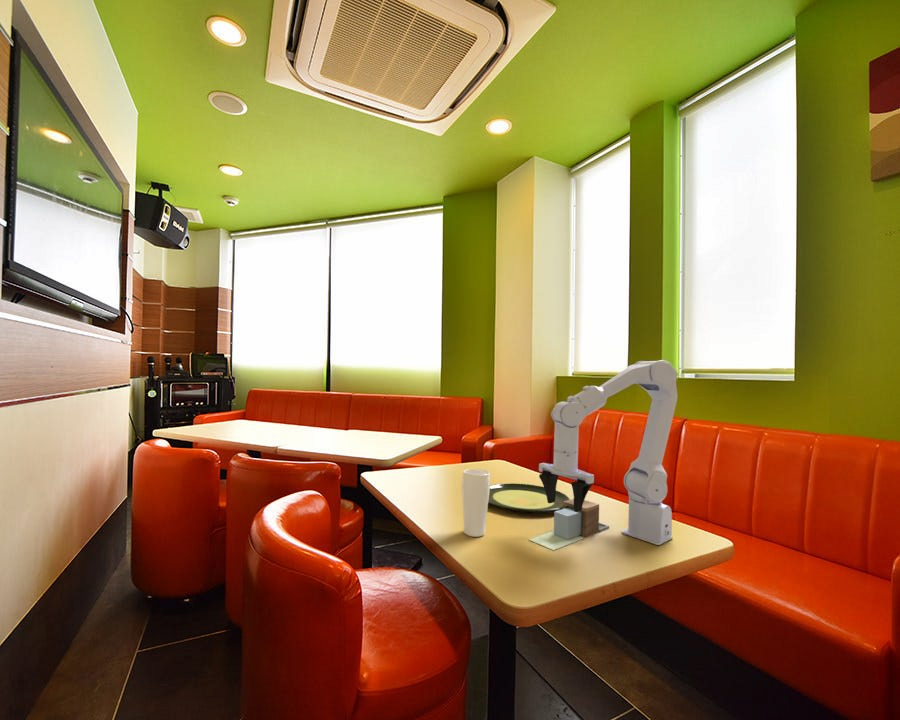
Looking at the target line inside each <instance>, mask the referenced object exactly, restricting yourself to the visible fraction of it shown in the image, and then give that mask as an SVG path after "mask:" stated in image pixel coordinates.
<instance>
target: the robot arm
mask: <svg viewBox="0 0 900 720" xmlns="http://www.w3.org/2000/svg"><path fill="white" fill-rule="evenodd" d="M678 375H679V373H678V371H677V369H676V368H675V367H674V366H673V364H672V363H671V362H670V361H668V360H665V359H660V360H649V361H646V360H640V361H636V362H635V363H634V364H631V365H628V366H627V367H626V368H625V369H624V370H622V371H620V372H619V373H617V374H616V375H614V376H613V377H612V378H610V379H608V380H607V381H606V382H604V383H602V384H601V385H599V386H597V385H585V386H583V387H582V390H581V391H580V392H579V393H577V394H574V395H569V396H568V397H567V400H566V401H560V402H557V403H556V404H555V405H554V407H553V409H552V411H551V412H550V416H551V418H552V420H553V421H554V439H553V440H554V441H553V463H546V462H542V463H539V464H538V471H539V472H541V473H540V474H539V479H540V481H541V484H542V487H544V488H545V492H546V496H547V501H548V503H553V502H555V497H556V491H557V483H558V480H559V476H560V477H564V478H568V479H571V480H574V481H572V482H571V484H570V485H571V489H572V493H573V494H572V495H573V499H574V512H579V511H581V510H582V506H583V502H584V500H585V499H586V497H587V494H588V493H589V491H590V489H591V487H592V486H593V484H594V482H595V475H594V474H592V473H589V472H586V471H584V470H581V469H578V468H579V467H578V465H579V463H578V461H579V435H580V434H579V431H580V430H579V429H580V428H579V427H580V425H582V423H583V421H584V419H585V418H586V417H587V416H589V415H591V414H592V413H594V412H596V411H598V410H599V409H601V408H602V407H604V406H606V404H607V399H608V398H609V397H612V396H614V395H615V394H617V393H619V392H621V391H623V390H624V389H627V388H628V387H630V386H632V385H634V384H637V385H638V386H640V387H641V389H643V390H645V391H646V392H647V394H648V395H649V397H650V398H651V404H650V408H649V412H648V416H647V421H646V425H645V429H644V432H643V433H644V434H643V437H642V442H641V446H640V448H639V449H640V450H639V452H638V453H639V454H638V457H637V458H636V459H635V460H633V461H632V462H631V463H630V466H629V469H628V470H627V471H626V473H625V475H624V476H623V486H624V487H625V489H626V490H627V491H628V492H627V495H628V521H627V522H628V525H627V526H628V527H627V528H625V529H623V530H621V531H620V532H621V534H624V535H627V536H629V537H633V538H635V539H638V540H642V541H645V542H648V543H651V544H653V545H657V546H661V545H662V544H665V543H666V542H668V541H669V540H672V539H673V536H672V530H673V529H672V528H673V527H672V525H673V523H672V522H673V521H672V520H673V513H672V507H671V506H669V505H667V504H664V503H663V500H665V498H666V497H667V494H668V484H667V478H668V474H667V472H666V470H665V469H664V466H663V460H664V456H665V452H666V448H667V445H668V440H669V435H670V432H671V427H672V423H673V418H674V414H675V410H676V407H677V402H678V397H679V396H678V389H677V379H678ZM575 480H576V481H575Z"/></svg>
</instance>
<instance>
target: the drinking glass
mask: <svg viewBox="0 0 900 720" xmlns="http://www.w3.org/2000/svg"><path fill="white" fill-rule="evenodd" d="M461 484H462V485H461V486H462V487H461V491H462V510H463V511H462V512H463V513H462V515H463V533H464V534H465V535H466V536H468V537H472V538H478V537H479V538H480V537H483V536H484V535H485V534H486V529H487V528H486V526H487V525H486V524H487V515H488V507H489V503H488V500H489V491H490V485H491V472H490V471H488V470H486V469H482V468H467V469H464V470H462V482H461Z"/></svg>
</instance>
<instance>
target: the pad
mask: <svg viewBox="0 0 900 720" xmlns="http://www.w3.org/2000/svg"><path fill="white" fill-rule="evenodd" d="M584 538H585V537H583V536H580V535H578V536H576V537H573V538H570V539H568V540H567V539H565V538H562V537H560V536H557V535H554V530H553V531H550V532H546V533H544V534H540V535H539V536H536V537H532V538H530V539H528V540H529V541H530V542H532V543H535V544H537V545H539V546H541V547H544V548H546V549H549V550H551V551H553V552H554V551H556V549H557V550H559V549H562V548H564V547H566V545H567V546H569V545H571V544H572V545H573V544H574V543H576V541H577V542H579V541H582V540H584ZM581 539H582V540H581Z"/></svg>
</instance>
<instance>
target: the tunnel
mask: <svg viewBox="0 0 900 720" xmlns="http://www.w3.org/2000/svg"><path fill="white" fill-rule="evenodd" d="M568 507H572V508H574V498H572V499H571V498H570V500H567V501H564V502H563V508H562V509H565V508H568ZM581 511H583V534H581V535H582V536H581V537H583V538H588V537H590V536H593V535H595V534H598V533H600V532H599V523H600V504H599V503H596V502H593V501H589V500H585V499H584V502H583V506H582V510H581Z"/></svg>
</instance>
